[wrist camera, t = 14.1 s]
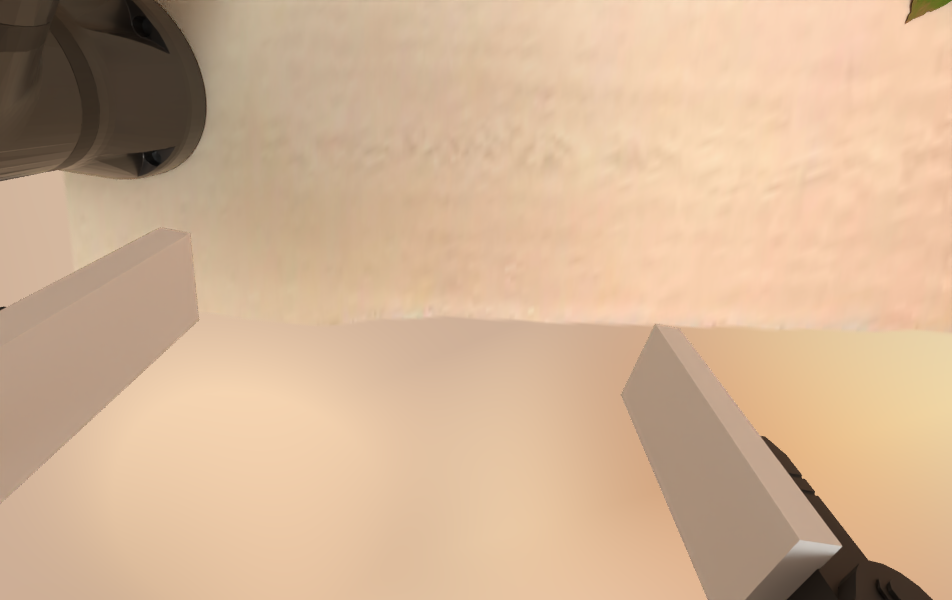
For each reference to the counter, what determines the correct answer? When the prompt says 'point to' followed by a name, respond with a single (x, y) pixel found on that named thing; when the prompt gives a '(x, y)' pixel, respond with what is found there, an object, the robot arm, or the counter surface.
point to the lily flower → (925, 7)
